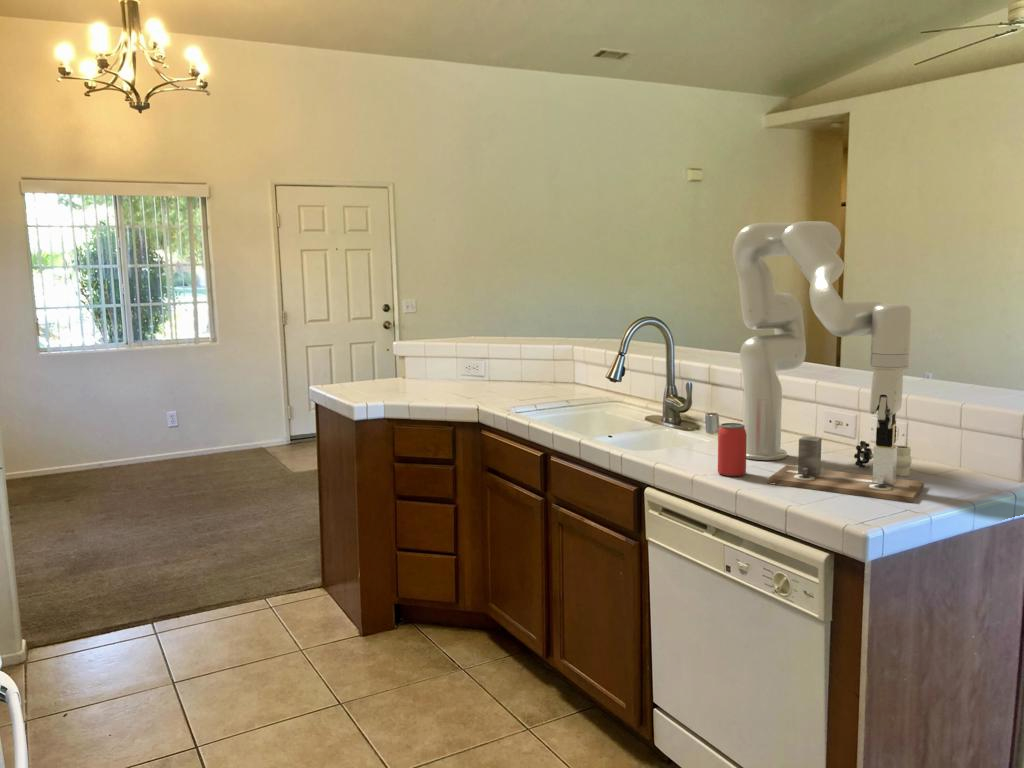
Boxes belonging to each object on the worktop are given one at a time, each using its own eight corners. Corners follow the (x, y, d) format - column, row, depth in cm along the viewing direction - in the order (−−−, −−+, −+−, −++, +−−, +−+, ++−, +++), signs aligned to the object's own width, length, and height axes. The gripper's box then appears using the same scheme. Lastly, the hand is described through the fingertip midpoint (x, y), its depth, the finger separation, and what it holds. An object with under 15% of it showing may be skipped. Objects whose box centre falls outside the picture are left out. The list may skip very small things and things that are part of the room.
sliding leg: (870, 484, 172) (872, 426, 170) (876, 478, 177) (878, 421, 175) (890, 487, 170) (892, 428, 168) (895, 480, 175) (898, 423, 173)
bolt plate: (767, 483, 181) (768, 441, 180) (786, 470, 193) (787, 431, 191) (912, 502, 164) (914, 457, 163) (923, 487, 175) (925, 444, 174)
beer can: (733, 478, 186) (733, 428, 184) (711, 473, 191) (712, 424, 190) (751, 474, 189) (752, 425, 188) (730, 469, 195) (731, 421, 193)
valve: (916, 473, 187) (866, 464, 197) (917, 446, 187) (867, 438, 196) (903, 478, 183) (853, 469, 192) (905, 450, 182) (854, 442, 191)
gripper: (878, 356, 179) (875, 436, 182) (862, 364, 166) (859, 450, 169) (915, 358, 175) (911, 439, 178) (901, 366, 162) (897, 454, 164)
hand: (885, 443), depth 173 cm, fingers closed on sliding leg, 3 cm apart
